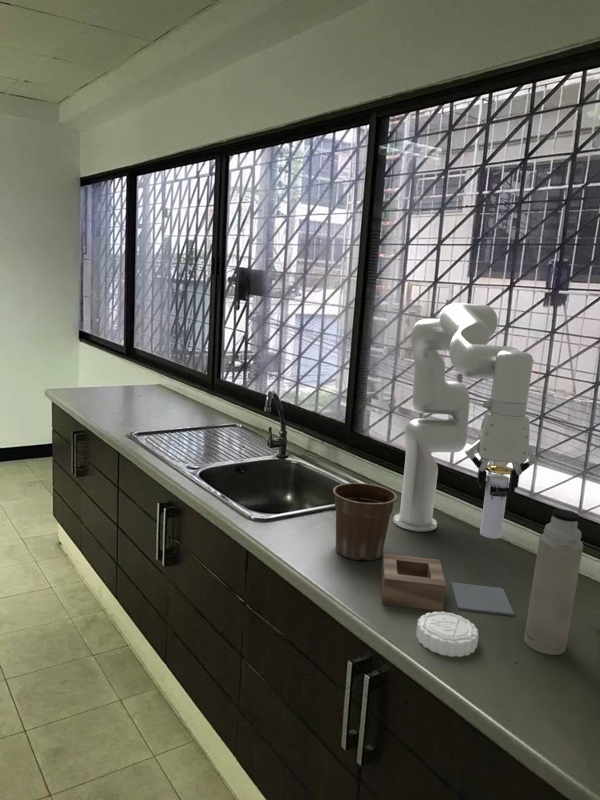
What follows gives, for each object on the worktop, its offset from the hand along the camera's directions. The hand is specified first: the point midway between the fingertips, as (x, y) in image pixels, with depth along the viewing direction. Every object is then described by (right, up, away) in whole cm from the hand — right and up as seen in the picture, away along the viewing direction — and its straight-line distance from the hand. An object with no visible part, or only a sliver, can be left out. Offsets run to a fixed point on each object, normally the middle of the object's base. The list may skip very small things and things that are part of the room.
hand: (496, 488), depth 143 cm
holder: (-18, -25, +6) cm, 31 cm away
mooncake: (-14, -29, -12) cm, 34 cm away
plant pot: (-28, -20, +26) cm, 43 cm away
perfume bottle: (-1, -12, +2) cm, 12 cm away
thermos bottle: (+6, -30, -11) cm, 33 cm away
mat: (-2, -26, +5) cm, 27 cm away
